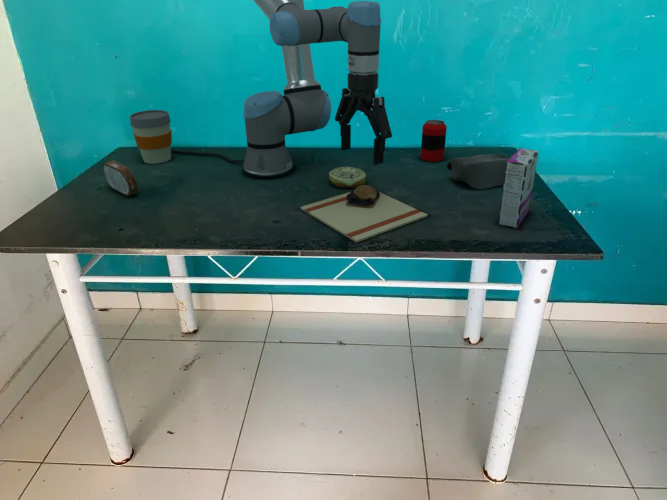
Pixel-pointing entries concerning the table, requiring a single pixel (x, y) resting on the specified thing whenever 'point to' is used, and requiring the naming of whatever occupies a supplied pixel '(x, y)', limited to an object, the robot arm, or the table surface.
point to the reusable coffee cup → (152, 135)
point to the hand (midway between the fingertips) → (361, 156)
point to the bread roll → (363, 197)
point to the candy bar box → (518, 187)
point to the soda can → (433, 140)
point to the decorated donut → (347, 177)
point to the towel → (363, 216)
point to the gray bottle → (479, 170)
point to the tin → (120, 178)
